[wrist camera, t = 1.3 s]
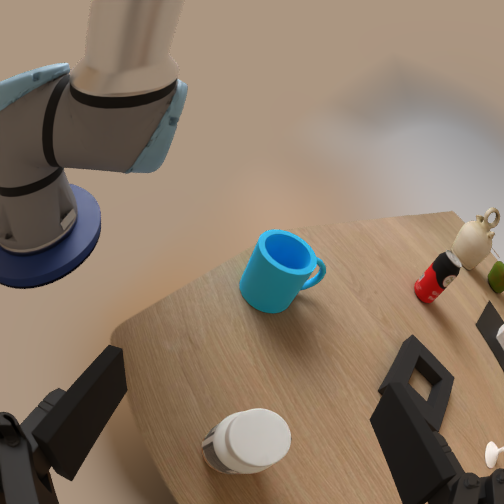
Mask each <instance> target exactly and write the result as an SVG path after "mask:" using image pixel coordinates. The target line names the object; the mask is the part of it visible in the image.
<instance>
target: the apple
mask: <svg viewBox="0 0 504 504" xmlns="http://www.w3.org/2000/svg"><path fill="white" fill-rule="evenodd" d="M488 281H489V284H490V286H491V287H492V289H493V290H494V291H495V292H497V293H502V292H503V291H504V264H503V263H502V262H501V261H497V262H496V263H495V264H494V266H493V268H492V269H491V271H490V273H489V274H488Z"/></svg>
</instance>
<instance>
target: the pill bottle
mask: <svg viewBox="0 0 504 504" xmlns="http://www.w3.org/2000/svg"><path fill="white" fill-rule="evenodd" d="M290 444H291V433H290V430H289V427H288V425H287V423H286V422H285V421H284V420H283V418H281V417H280V416H279V415H278V414H276V413H274V412H273V411H270V410H267V409H260V408H257V409H250V410H247V411H242V412H237V413H234V414H231V415H230V416H228V417H226V418H225V419H223V420H222V421H221V422H220V423H219V424H217V425H216V426H215V427H214V428H212V429H211V430H210V431H209V432H208V433H207V434H206V436H205V437H204V439H203V442H202V455H203V457H204V460H205V461H206V463H207V464H208V465H209V466H210V467H211V468H213V469H214V470H216V471H218V472H221V473H224V474H252V473H257V472H261V471H263V470H265V469H267V468H269V467H270V466H271V465H272V464H275V463H277V462H278V461H280V460H281V459H282V458H283V457H284V456H285V455H286V454H287V452H288V450H289V448H290Z"/></svg>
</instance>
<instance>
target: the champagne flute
mask: <svg viewBox="0 0 504 504" xmlns="http://www.w3.org/2000/svg"><path fill="white" fill-rule="evenodd" d="M502 452H504V447H502V448H500V449H498V447H497V446H496V445H495V444H494V442H492V441H490V442H489V443H488V444H487V447H486V451H485V460H486V464H487V466H488V467H489V468H493V467H494V465H495V463H496V461H497V458H498V455H499V453H502Z"/></svg>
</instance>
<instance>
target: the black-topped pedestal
mask: <svg viewBox="0 0 504 504" xmlns="http://www.w3.org/2000/svg"><path fill="white" fill-rule="evenodd" d="M476 326H477V327H478V329H479V330H480V332H481V333H482V335H483V337H484V338H485V340H486V341H487V343H488V344H489V346H490V348H491V349H492V351H493V353H494V354H495V356H496V358H497V360H498V361H499V363H500V365H501V367H502V369H503V370H504V321H503V320H502V318H501V317H500V315H499V314H498V312H497V311H496V309H495V308H494V306H493V305H492V303H491V302H490V300H489V302H488V304H487V306H486V307H485V309H484V311H483V313H482V315H481V316H480V318H479V320H478V322H477V323H476Z"/></svg>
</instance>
